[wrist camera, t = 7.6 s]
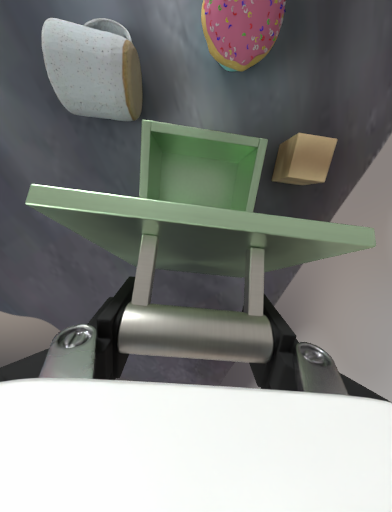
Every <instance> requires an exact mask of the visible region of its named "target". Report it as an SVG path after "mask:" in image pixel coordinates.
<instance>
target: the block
mask: <svg viewBox="0 0 392 512" xmlns="http://www.w3.org/2000/svg"><path fill="white" fill-rule="evenodd" d="M336 143H337V139H334V138H328V137H322V136H316V135H310V134H304V133H298V134H296V135H295V136H293V137H291V138H290V139H288V140H287V141H285V142H283V143H282V144H280V146H279V150H278V155H277V159H276V163H275V168H274V172H273V177H272V181H275V182H282V183H289V184H296V185H308V184H315V183H322V182H325V179H326V176H327V172H328V169H329V166H330V163H331V159H332V156H333V153H334V149H335V146H336Z"/></svg>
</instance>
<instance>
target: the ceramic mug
mask: <svg viewBox="0 0 392 512" xmlns="http://www.w3.org/2000/svg"><path fill="white" fill-rule="evenodd" d="M42 51H43V56H44V61H45V66H46V69H47V73H48V77H49V79H50V82H51V84H52V86H53V88H54V91H55V93H56V95H57V97H58V98H59V100H60V101H61V103H62V104H63V105H64V107H65V108H66V109H67V110H68V111H69V112H71V113H73V114H75V115H81V116H89V117H97V118H105V119H113V120H119V121H135V120H137V119H138V117H139V116H140V114H141V110H142V76H141V67H140V61H139V57H138V54H137V51H136V48H135V47H134V45H133V44H132V40H131V37H130V34H129V32H128V31H127V29H126V28H125V27H124V26H122V25H121V24H119V23H117V22H115V21H113V20H109V19H102V18H98V19H93V20H90V21H88V22H87V23H85V24H84V25H83V26H82V25H79V24H75V23H72V22H68V21H64V20H61V19H56V18H49V19H47V20H46V21H45V23H44V25H43V28H42Z"/></svg>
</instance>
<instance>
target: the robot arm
mask: <svg viewBox="0 0 392 512" xmlns="http://www.w3.org/2000/svg"><path fill="white" fill-rule="evenodd" d="M134 282H135V277H129V278H128V279H127V280H126V282H125V283H124V284H123V286H122V287H121V288H120V289H119V291H118V292H117V293H116V295H115V296H114V297H109V298H108V299H107V301H106V302H105V303H104V304H103V305H102V307H101V308H100V309H99V310H98V312H97V313H96V314H95V315H94V317H93V318H92V319H91V320H90V322H89V323H88V324H87V325H86V324H79V325H74V326H70V327H68V328H65V329H64V330H62V331H60V332H59V333H58V334H57V335H56V336H55V337H54V339H53V340H52V343H51V345H50V348H49V349H46V350H44V351H41V352H39V353H36V354H34V355H31V356H29V357H26V358H24V359H21V360H19V361H16V362H14V363H11V364H9V365H6V366H3V367H1V368H0V512H392V402H390V401H388V400H387V399H385V398H383V397H381V396H379V395H378V394H376V393H374V392H373V391H371V390H369V389H367V388H366V387H364V386H362V385H360V384H358V383H357V382H355V381H353V380H351V379H350V378H348V377H346V376H344V375H342V374H340V373H339V372H338V370H337V367H336V365H335V363H334V361H333V359H332V357H331V356H330V355H329V354H328V353H327V352H325V351H324V350H323V349H321V348H320V347H318V346H316V345H313V344H311V343H307V342H300V343H299V342H298V341H297V339H296V335H295V334H294V332H293V331H292V330H291V328H290V327H289V326H288V324H287V323H286V322H285V320H284V319H283V318H282V317H281V315H280V314H279V313H278V311H277V310H276V309H275V307H274V306H273V305H272V304H271V302H270V301H269V300H268V298H267V297H266V296H265V294H264V298H263V315H265V316H266V317H267V318H268V320H269V322H270V324H271V327H272V331H273V338H274V348H273V354H272V357H271V359H270V361H269V362H267V363H251V362H249V363H250V366H251V369H252V372H253V375H254V377H255V380H256V383H257V385H258V387H261V389H254V388H239V387H223V386H207V385H191V384H174V383H156V382H138V381H120V380H115V379H116V378H120V376H121V374H122V371H123V368H124V366H125V363H126V361H127V358H128V356H129V354H127V353H120V352H119V351H118V347H117V338H118V330H119V325H120V321H121V318H122V315H123V312H124V310H125V308H126V306H127V305H128V303H130V302H131V301H132V295H133V289H134ZM242 312H244V306H243V310H242Z"/></svg>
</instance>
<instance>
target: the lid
mask: <svg viewBox="0 0 392 512" xmlns="http://www.w3.org/2000/svg"><path fill="white" fill-rule="evenodd" d="M26 205H28V206H30V207H32V208H33V209H35V210H37V211H39V212H40V213H42V214H44V215H46V216H48V217H49V218H51V219H53V220H55V221H56V222H58V223H60V224H62V225H63V226H65V227H67V228H69V229H70V230H72V231H74V232H76V233H77V234H79V235H81V236H83V237H84V238H86V239H88V240H90V241H91V242H93V243H95V244H97V245H98V246H100V247H102V248H104V249H105V250H107V251H109V252H111V253H113V254H114V255H116V256H118V257H120V258H121V259H123V260H125V261H127V262H128V263H130V264H132V265H134V266H135V267H137V270H136V276H135V282H134V289H133V295H132V301H131V302H130V303H128V305H127V306H126V308H125V310H124V312H123V315H122V318H121V321H120V325H119V330H118V338H117V347H118V351H119V352H120V353H127V354H141V355H154V356H168V357H182V358H196V359H210V360H223V361H237V362H238V361H239V362H251V363H267V362H269V361H270V359H271V357H272V354H273V348H274V338H273V331H272V327H271V324H270V322H269V320H268V318H267V317H266V316H265V315H263V298H264V272H268V271H272V270H277V269H281V268H285V267H290V266H294V265H299V264H303V263H307V262H312V261H316V260H320V259H324V258H329V257H334V256H338V255H342V254H347V253H351V252H356V251H360V250H364V249H369V248H373V247H375V246H376V241H375V232H374V228H369V227H361V226H353V225H346V224H338V223H330V222H323V221H315V220H307V219H300V218H292V217H284V216H277V215H269V214H261V213H253V212H246V211H238V210H230V209H223V208H215V207H207V206H199V205H192V204H184V203H176V202H169V201H161V200H153V199H145V198H138V197H130V196H122V195H115V194H107V193H99V192H91V191H84V190H76V189H68V188H61V187H53V186H45V185H37V184H31V186H30V189H29V192H28V196H27V199H26ZM155 269H163V270H172V271H182V272H192V273H201V274H211V275H220V276H230V277H240V278H242V277H245V288H244V312H236V311H225V310H214V309H203V308H192V307H181V306H170V305H159V304H150V302H151V295H152V288H153V281H154V273H155Z"/></svg>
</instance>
